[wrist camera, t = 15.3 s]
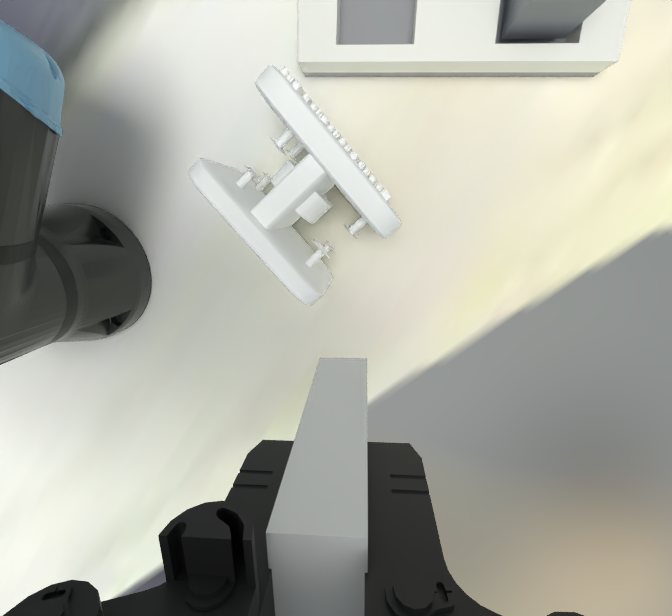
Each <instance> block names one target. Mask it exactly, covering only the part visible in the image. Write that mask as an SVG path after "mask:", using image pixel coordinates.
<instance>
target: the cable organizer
mask: <svg viewBox="0 0 672 616" xmlns="http://www.w3.org/2000/svg"><path fill="white" fill-rule="evenodd" d="M255 84H256V87H257V88H258V90H259V92H260V93H261V95H262V96H263V98H264V99H265V101H266V102H267V103H268V105H269V106H270V107H271V108H272V110H273V111H274V112H275V113H276V115H277V116H278V117H279V118H280V119H281V121H282V122H283V123H284V124H285V125H286V127H287V128H288V129H287V130H286V131H285V132H284V133H283V134H282V135H281V136H280V137H279V138H278V139H277V140H276V141H274V140H273V139H272V138H271V137H270V138H271V139H272V141H273V142H274V143H275V145H276V146H277V148H278V149H279V150H281V151H282V152H283V153H284V152H285V151H284V150H283V149H282V148H283V147H284V146H285V144H286V143H287V142H288V141H289V140H290V139H291V138H292V137H293V136H295V137H296V138H297V140H298V141H299V143H298V144H297V145H296V146H295V147H294V148H293V149H292V150H291V151H288V150H287V149H286V150H287V151H288V153H289V154H290V156H291V157H292V158H293V159H294V160H295V161H296V162H298V161H297V159H296V158H295V157H296V156H297V155H298V154H299V153H300V152H301V151H302V150H303V149H304V148H305V149H306V150H307V152H308V153H309V154H307V155H306V156H305V157H304V158H303V159H302V160H301V161H300V162H299V163H298V164H297V165H296V164H295V163H294V162H293V161H291V160H289V161H288V162H287V163H286V164H285V165H284V166H283V167H282V168H281V170H280V171H279V172H278V173H277V174H276V175H275V176H274V177H273V178H271V177H270V176H269V175H268V174H265V173H264V174H265V177H264V178H263V179H262V180H261V181H260V180H259V179H258V177H259V176H258V175H257V174H256V173H255V172H254V171H253V170H252V169H251V168H248V167H246V166H245V167H246V168H247V169H248V171H247V172H246V173H245V174H244V173H243V172H241V171H240V170H238V169H235V168H232V167H229V166H225V165H222V164H219V163H216V162H213V161H210V160H207V159H203V158H200V159H199V160H198V161H197V162H196V163H195V164H194V165H193V166H192V167H191V169H190V170H189V171H188V173H189V176H190V178H191V180H192V182H193V183H194V184H195V186H196V187H197V188H198V190H199V191H200V192H201V193H202V194H203V195H204V197H205V198H206V199H207V200H208V201H209V202H210V203H211V204H212V205H213V207H214V208H215V209H216V210H217V211H218V212H219V213H220V214H221V215H222V217H223V218H224V219H225V220H226V221H227V222H228V223H229V224H230V225H231V227H232V228H233V229H234V230H235V231H236V232H237V233H238V234H239V236H240V237H241V238H242V239H243V240H244V241H245V242H246V243H247V244H248V246H249V247H250V248H251V249H252V250H253V251H254V252H255V253H256V254H257V256H258V257H259V258H260V259H261V260H262V261H263V262H264V263H265V264H266V266H267V267H268V268H269V269H270V270H271V271H272V272H273V273H274V274H275V276H276V277H277V278H278V279H279V280H280V281H281V282H282V283H283V284H284V286H285V287H286V288H287V289H288V290H289V291H290V292H291V293H292V294H293V295H294V296H295V297H296V298H297V299H299V300H300V301H301V302H303V303H304V304H306V305H312V304H313V303H314V302H316V301H317V300H318V299H319V298H320V297H322V296H323V294H324V293H325V291H326V289H327V288H328V286H329V284H330V283H331V281H332V279H333V277H332V274H331V272H330V271H329V269H328V268H327V266H326V265H325V264H324V262H323V261H322V260H321V259H320V258H322V257H323V256H324V255H326V256H327V257H328V258H329V256H328V254H327V252H328V251H329V250H333V251H334V249H333V247H332V246H331V245H330V244H329V243H328V242H327V241H326V242H327V243H326V242H325V243H326V245H325V246H323V245H322V244H320V243H319V242H318V241H316V240H315V239H314V241H315V242H314V241H312V240H311V241H312V242H313V243H314V244H315V245H316V246H317V247H318V249H319V250H317V251H316V252H314V251H313V250H312V248H311V247H310V246H309V245H308V244H307V243H306V242H305V240H304V239H303V238H302V237H301V236H300V235H299V233H298V232H297V231H296V230H295V229H294V228H293V227H292V225H293V224H294V223H295V222H296V221H297V220H298V219H299V218H300V217H302V218H304V219H305V220H306V221H308V222H309V223H312V224H314V223H315V222H316V221H317V220H318V219H319V218H320V217H321V216H322V215H323V214H325V213H326V212H327V211H328V210H329V209H330V208H331V207H332V204H331V202H330V201H329V200H328V198H327V197H326V196H325V194H326V193H327V192H328V191H329V190H330V189H331V188H332V187H333V186H334V185H336V186H337V188H338V189H339V190H340V191H341V192H342V194H343V195H344V196H345V197H346V198H347V200H348V201H349V202H350V203H351V204H352V206H353V207H354V208H355V209H356V210H357V212H358V213H359V214H360V215H361V216H362V217H361V218H359V219H358V220H357V221H356V222H355V223H354V224H353V225H351V224H350V223H348V224H349V225H350V227H349V228H348V226H347V225H345V227H346V228H347V230H348V232H349V233H351V234H352V235H353V236H354V237H355V235H354V234H355V233H357V231H358V230H359V229H361V228H362V227H363V226H364V225H365V224H366V223H368V224H369V225H370V227H371V228H372V229H373V230H374V231H375V232H377V233H378V234H379V235H380V236H381V237H383V238H385V239H386V238H387V237H389V236H390V235H391V234H392V233H393V232H394V231H396V230H397V229H398V228H399V227H400V226H401V225H402V224H401V221H400V219H399V217H398V215H397V214H396V212H395V211H394V209H393V208H392V206H391V205H390V204H389V202H388V201H387V200H388V199H389V198H390V197H391V196H390V195H389V193H388V192H387V191H386V190H384V188H383V187H382V185H381V184H380V183H379V182H378V183H377V184H376V185H374V183H375V182H376V181H377V179H376V178H375V177H374V176H373V175H372V174H371V175H370V176H369V177H368V176H367V175H368V174H369V173H371V172H370V170H369V169H368V168H366V165H365V164H364V163H363V162H362V161H359V162H358V163H357V161H358V160H359V157H358V155H357V154H356V153H355V152H354V151H352V149H351V147H350V146H349V145H348V144H347V143H346V141H345V140H344V139H343V138H342V137H341V138H340V139H339V140H337V139H338V138H339V137H340V134H339V132H338V131H337V130H336V129H335V128H334V126H333V125H332V124H331V123H330V122H329V121H328V119H327V118H326V117H325V115H323V113H322V111H321V110H320V109H319V108H318V107H317V106H316V104H315V103H314V102H312V100H311V98H310V97H309V96H308V94H307V93H306V94H305V96H304V97H302V95H303V94H304V93H305V92H304V91H303V89H302V87H301V85H300V84H299V83H298V82H297V80H295V79H294V77H293V76H292V75H291V74H290V73H289V71H288V70H287V69H286V67H285V66H284V68H283V69H282V70H281V71H279V70H278V69H277V68H276V67H274V66H273V65H269V66H268V67H267V69H266V70H265V71H264V72H263V73H262V74H261V75H260V76H259V77H258V78H257V80H256V81H255ZM329 123H330V124H329ZM328 124H329V125H328ZM327 125H328V126H327ZM284 154H285V153H284ZM285 155H286V154H285ZM364 169H365V170H364ZM363 170H364V171H363ZM254 177H256V178H257V179H258V180H259V181H260V182H259V183H258V184H257V185H256V184H255V183H254V182H253V181H252V179H253V178H254ZM270 182H272V184H273V185H274V188H273V189H272V190H271V191H270V192H269V193H268V194H267V195H266V196H265V194H264V193H263V192H262V190H263V189H264V188H265V187H266V186H267V185H268V184H269V183H270ZM382 190H384V191H383V192H382V193H381V191H382ZM357 234H358V233H357ZM358 235H359V234H358ZM355 238H356V237H355ZM334 252H335V251H334ZM329 259H330V258H329Z"/></svg>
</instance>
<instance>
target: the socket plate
mask: <svg viewBox="0 0 672 616" xmlns="http://www.w3.org/2000/svg"><path fill="white" fill-rule="evenodd" d="M630 2H631V0H606V1H605V2H604V3H603V4H602V5H601V6H599V7H598V8H597V9H596V10H595V11H594V12H593V13H592V14H591V15H590V16H588V17H587V18H586V19H585V20H584V21H583V22H582V23H581V24H580V25H579V26H577V27H576V28H575V29H574V30H573V31H572V32H571V33H570V34H569V35H568V36H566V37H565V38H556V39H501V38H502V30H503V22H504V14H505V7H506V0H298V63H299V65H300V67H301V69H302V71H303V73H304V75H305V76H457V77H593V76H595V75H597V74H598V73H600V72H601V71H603V70H605V69H606V68H608V67H610V66H611V65H613V64H614V63H616V62H618V61H619V57H620V52H621V47H622V42H623V37H624V32H625V27H626V22H627V17H628V12H629V7H630Z"/></svg>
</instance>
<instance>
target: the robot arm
mask: <svg viewBox="0 0 672 616" xmlns="http://www.w3.org/2000/svg"><path fill="white" fill-rule="evenodd" d="M64 91H65V83H64V78H63V75H62V72H61V70H60V68H59V67H58V65H57V64H56V62H55V61H54V60H53V59H52V57H51V56H50V55H49V54H48V53H47V52H46V51H45V50H43V49H42V48H41V47H40V46H38V45H37V44H36V43H34V42H33V41H31V40H30V39H29V38H27V37H26V36H24V35H23V34H21V33H20V32H18V31H17V30H15V29H14V28H12V27H11V26H9V25H8V24H6V23H5V22H3V21H2V20H0V365H1V364H3V363H6V362H8V361H10V360H13V359H15V358H17V357H20V356H22V355H24V354H27V353H29V352H31V351H34V350H36V349H38V348H41V347H43V346H45V345H48V344H50V343H53V342H71V341H91V340H98V339H103V338H106V337H109V336H111V335H114V334H116V333H118V332H120V331H122V330H124V329H126V328H128V327H129V326H131V325H132V324H133V323H134V322H135V321H136V320H137V319H138V318H139V317H140V316H141V314H142V313H143V311H144V309H145V308H146V305H147V303H148V300H149V296H150V290H151V275H150V268H149V264H148V261H147V258H146V255H145V253H144V250H143V249H142V247H141V245H140V243H139V241H138V240H137V238H136V237H135V236H134V234H133V233H132V232H131V231H130V230H129V228H127V227H126V226H125V225H124V224H123V223H122V222H121V221H120V220H119V219H117V218H116V217H114V216H113V215H111V214H110V213H108V212H106V211H104V210H102V209H99V208H96V207H93V206H89V205H83V204H54V205H48V206H45V203H46V198H47V193H48V188H49V183H50V178H51V174H52V169H53V164H54V159H55V154H56V149H57V145H58V140H59V137H62V134H63V131H62V129H61V127H60V125H61V114H62V106H63V99H64ZM158 536H159V542H160V547H161V553H162V558H163V564H164V570H165V574H166V582H165V583H163V584H162V585H160V586H157V587H154V588H151V589H148V590H145V591H142V592H138V593H134V594H130V595H126V596H122V597H118V598H114V599H110V600H107V601H103V602H101V601H100V597H99V593H98V590H97V589H96V588H95V587H93V586H92V585H91V584H90V583H89V582H86V581H77V580H70V581H65V582H61V583H57V584H53V585H50V586H48V587H46V588H44V589H42V590H40V591H38V592H36V593H34V594H32V595H30V596H28V597H27V598H26V599H24V600H23V601H22V602H20V603H19V604H18V605H16V606H15V607H14V608H12V609H11V610H10V611H8V612H7V613H6V614H4V615H3V616H501V615H499V614H497V613H495V612H493V611H491V610H488V609H487V608H485V607H483V606H481V605H479V604H478V603H477V602H476V601H474V600H473V599H472V598H470V597H469V596H468V595H467V594H466V593H465V592H464V591H463V590H462V589H461V588H460V587H459V586H458V585H457V584H456V582H455V581H454V579H453V578H452V576H451V574H450V573H449V571H448V569H447V566H446V563H445V560H444V557H443V553H442V548H441V544H440V539H439V535H438V530H437V526H436V521H435V517H434V512H433V508H432V503H431V499H430V495H429V490H428V485H427V481H426V478H425V472H424V467H423V463H422V458H421V457H420V456H419V455H418V453H417V452H416V451H415V450H414V448H413V447H412V446H411V445H410V444H409V443H380V442H379V443H378V442H367V359H360V358H320V360H319V363H318V366H317V369H316V373H315V376H314V379H313V382H312V386H311V389H310V392H309V395H308V398H307V402H306V405H305V408H304V411H303V414H302V418H301V421H300V424H299V427H298V430H297V434H296V437H295V440H294V441H279V440H262V441H261V442H260V443H259V444H258V445H257V446H256V447H255V448H253V449H252V450H251V451H250V452H249V453H248V454H247V457H246V459H245V461H244V463H243V465H242V467H241V469H240V473H238V475H237V477H236V479H235V481H234V483H233V488H231V490H230V492H229V494H228V496H227V498H226V500H225V501H217V502H207V503H203V504H200V505H198V506H195V507H193V508H190V509H187V510H186V511H184V512H183V513H182V514H180V515H179V516H177V517H176V518H174V519H173V520H171V521H170V522H169V524H168V525H167V526H166V527H165V528H164V529H163V531H162V532H161V533H160V534H159V535H158ZM547 616H583V615H580V614H578V613H575V612H553V613H551V614H549V615H547Z"/></svg>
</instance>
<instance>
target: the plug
mask: <svg viewBox="0 0 672 616" xmlns="http://www.w3.org/2000/svg"><path fill="white" fill-rule="evenodd" d="M605 1H606V0H506V7H505V14H504V22H503V30H502V38H501V39H556V38H565V37H566V36H568V35H569V34H570V33H571V32H572V31H573V30H574V29H575V28H576V27H577V26H579V25H580V24H581V23H582V22H583V21H584V20H585V19H586V18H587V17H588V16H590V15H591V14H592V13H593V12H594V11H595V10H596V9H597V8H598V7H599V6H601V5H602V4H603V3H604V2H605Z"/></svg>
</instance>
